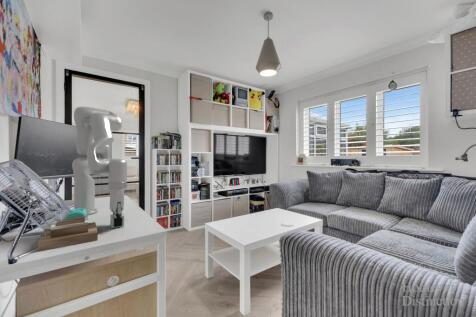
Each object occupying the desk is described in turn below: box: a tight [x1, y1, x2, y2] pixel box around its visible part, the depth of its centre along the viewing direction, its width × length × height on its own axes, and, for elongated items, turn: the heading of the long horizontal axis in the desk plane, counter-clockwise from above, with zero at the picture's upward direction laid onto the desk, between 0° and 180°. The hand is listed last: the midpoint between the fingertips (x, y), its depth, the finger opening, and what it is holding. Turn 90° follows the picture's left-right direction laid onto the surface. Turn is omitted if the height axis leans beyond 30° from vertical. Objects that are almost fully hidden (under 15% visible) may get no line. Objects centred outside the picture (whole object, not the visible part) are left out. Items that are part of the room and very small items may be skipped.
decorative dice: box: [65, 208, 87, 219], centre depth 96 cm, size 8×8×8 cm
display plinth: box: [37, 215, 99, 252], centre depth 84 cm, size 16×17×7 cm
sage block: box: [109, 212, 125, 229], centre depth 99 cm, size 5×5×5 cm
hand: (117, 224), depth 99 cm, fingers closed on sage block, 5 cm apart
